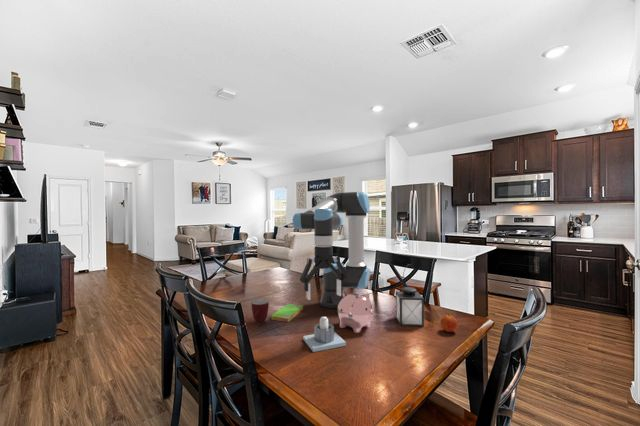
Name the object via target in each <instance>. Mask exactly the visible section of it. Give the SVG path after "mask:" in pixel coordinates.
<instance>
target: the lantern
mask: <svg viewBox="0 0 640 426" xmlns="http://www.w3.org/2000/svg"><path fill="white" fill-rule="evenodd" d="M408 266H412V267H414V265H413V264H407V265H406V266H405V267H404V268H403V272H402V273H403V274H402V277H404V274H405V270H406V268H407V267H408ZM415 269H416V268H413V271H414V272H416V270H415ZM395 318H396V319H397V322H398V324H399V326H400V327H425V298H424V297H423V295H421V294H420V292H419V291H418V290H417V289H416V287H412V286H411V287H410V286H403V287H402V288H401V291H395Z"/></svg>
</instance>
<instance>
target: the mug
mask: <svg viewBox="0 0 640 426" xmlns="http://www.w3.org/2000/svg"><path fill="white" fill-rule="evenodd" d="M251 312H252V317H253V319H254V321H255V323H256V324H257V325H259V324H260V325H261V324H264V323H265V322H266V320H267V317H268V312H269V300H267V299H256V300H253V301H251Z"/></svg>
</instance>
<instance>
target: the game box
mask: <svg viewBox="0 0 640 426" xmlns="http://www.w3.org/2000/svg"><path fill="white" fill-rule="evenodd" d="M303 310H304V304H295V303H294V304H293V303H287V304H285V305H284V306H283V307H281V308H280V309H278V310H277V311H276V312H274V313H273V314H272V315H271V320H273V321H281V322H286V323H289V322H290V321H291V320H293V319H294V318H295V317H296V316H298V314H300V313H301V312H302V311H303Z"/></svg>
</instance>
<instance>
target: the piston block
mask: <svg viewBox="0 0 640 426" xmlns="http://www.w3.org/2000/svg"><path fill="white" fill-rule="evenodd" d="M328 323H329V318H328V317H327V316H321V317H320V318H319V324H320V329H323V330H326V329H328ZM302 336H303V341H304V342H305V344H306V345H307V347H308V348H310V350H311V351H312V352H313V353H315V352H321V351H322V352H323V351H327V350H331V349H336V348H341V347H346V346H347V341H345V340H344V339H343V338H342V337H341V336H340V335H339V334H338V333H337V332H336V331H334V341H332V342H330V343H319V342H316V341H315V340H314V333H312V334H308V335H302Z"/></svg>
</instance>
